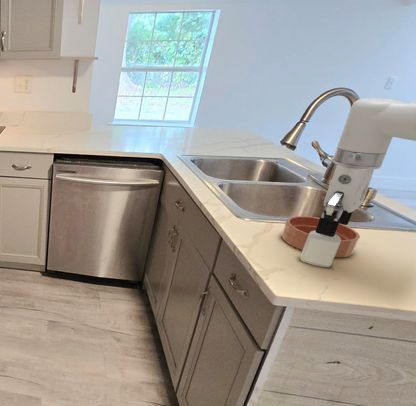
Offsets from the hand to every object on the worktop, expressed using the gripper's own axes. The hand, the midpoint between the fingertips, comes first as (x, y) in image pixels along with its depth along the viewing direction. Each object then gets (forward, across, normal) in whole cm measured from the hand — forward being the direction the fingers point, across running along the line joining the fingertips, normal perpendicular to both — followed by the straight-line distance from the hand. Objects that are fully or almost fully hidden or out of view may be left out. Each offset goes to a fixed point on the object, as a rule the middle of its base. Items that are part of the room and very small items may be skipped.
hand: (331, 228), depth 85 cm
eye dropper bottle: (+10, 0, +1) cm, 10 cm away
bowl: (+10, +11, +4) cm, 15 cm away
